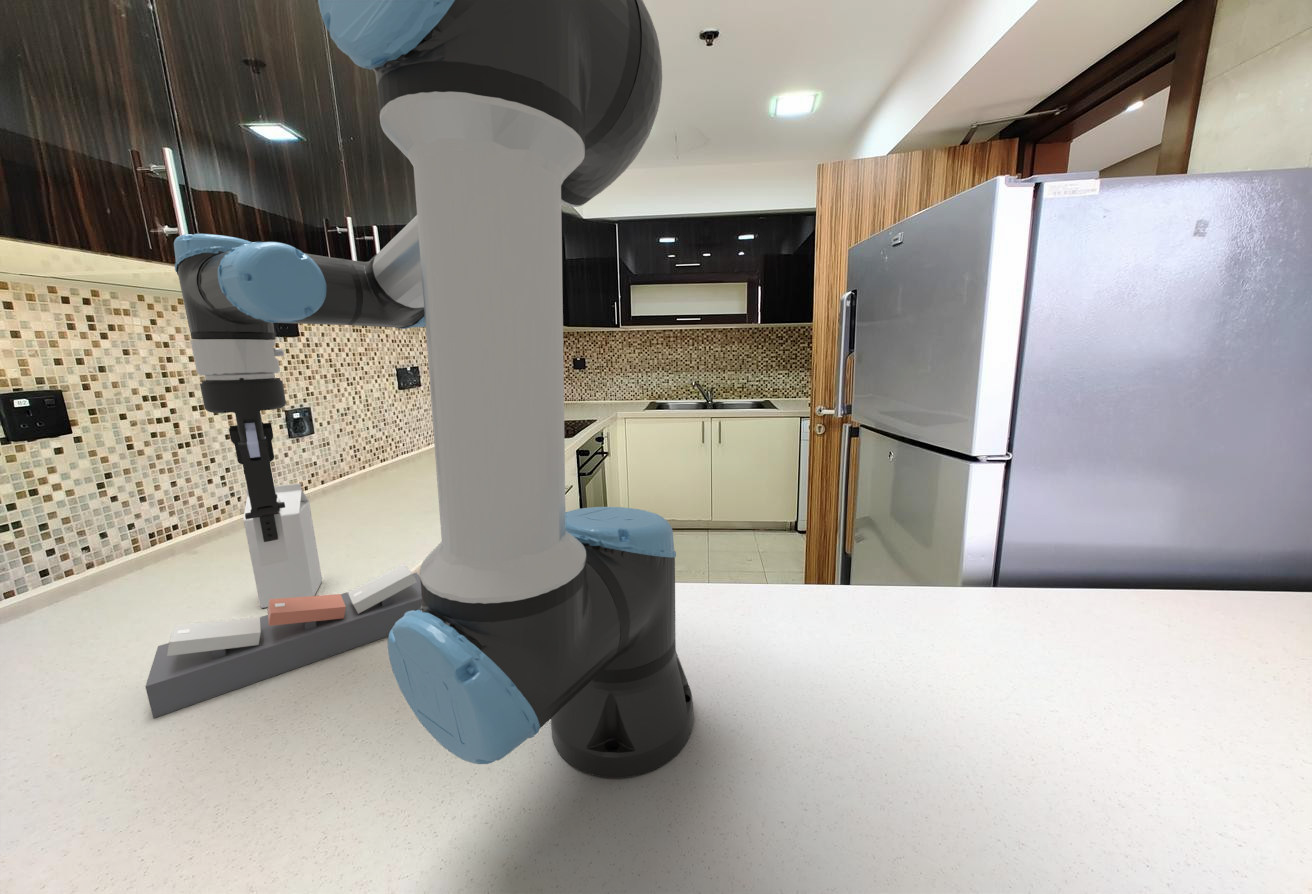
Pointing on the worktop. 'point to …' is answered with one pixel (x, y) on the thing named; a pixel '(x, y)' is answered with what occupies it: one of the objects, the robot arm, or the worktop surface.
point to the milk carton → (301, 547)
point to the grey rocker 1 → (214, 635)
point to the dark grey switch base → (270, 652)
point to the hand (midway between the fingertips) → (275, 561)
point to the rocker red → (305, 609)
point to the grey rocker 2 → (381, 587)
